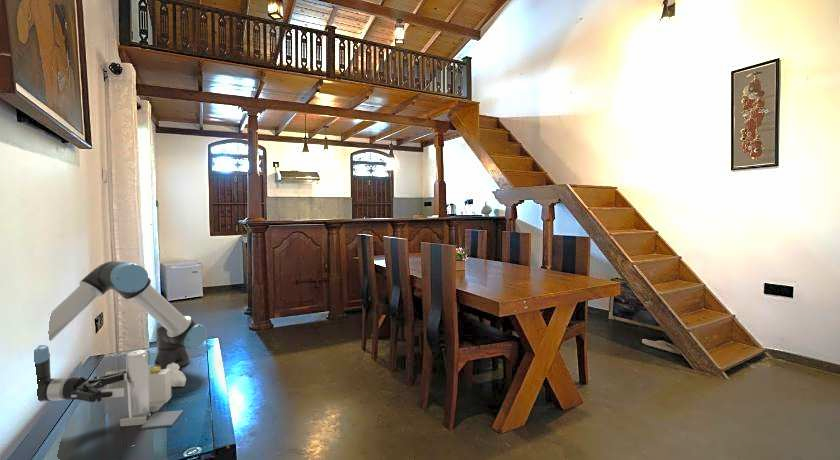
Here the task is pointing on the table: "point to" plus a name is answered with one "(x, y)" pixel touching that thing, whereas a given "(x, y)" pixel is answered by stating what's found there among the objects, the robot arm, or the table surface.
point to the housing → (154, 395)
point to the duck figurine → (176, 375)
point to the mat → (162, 419)
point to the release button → (155, 369)
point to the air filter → (138, 384)
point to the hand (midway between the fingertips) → (134, 383)
